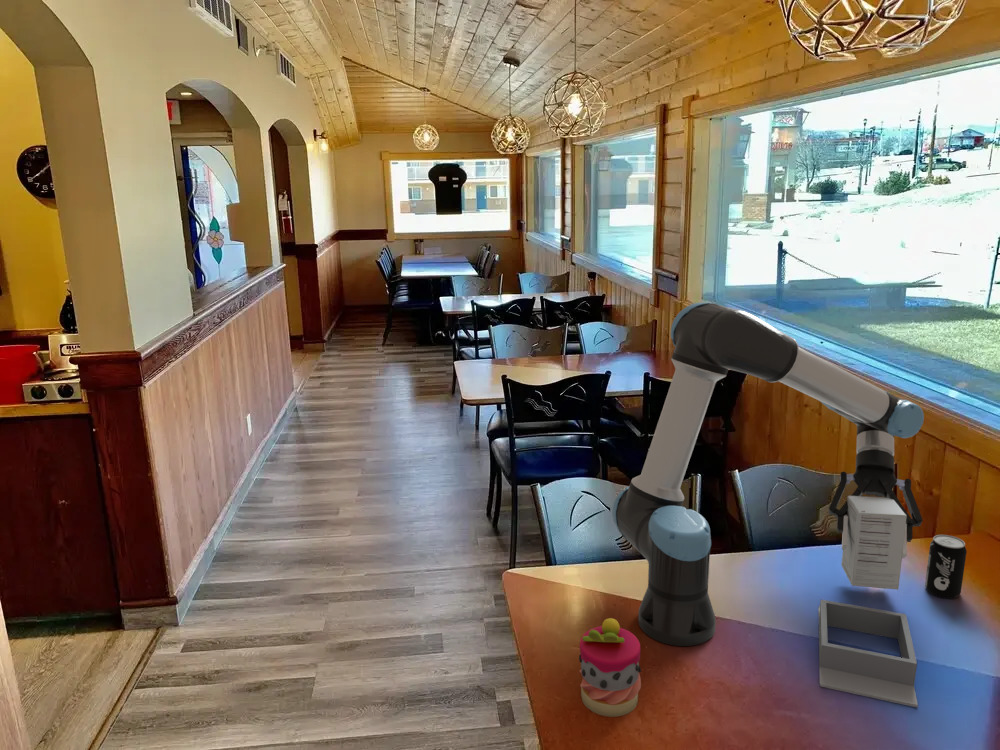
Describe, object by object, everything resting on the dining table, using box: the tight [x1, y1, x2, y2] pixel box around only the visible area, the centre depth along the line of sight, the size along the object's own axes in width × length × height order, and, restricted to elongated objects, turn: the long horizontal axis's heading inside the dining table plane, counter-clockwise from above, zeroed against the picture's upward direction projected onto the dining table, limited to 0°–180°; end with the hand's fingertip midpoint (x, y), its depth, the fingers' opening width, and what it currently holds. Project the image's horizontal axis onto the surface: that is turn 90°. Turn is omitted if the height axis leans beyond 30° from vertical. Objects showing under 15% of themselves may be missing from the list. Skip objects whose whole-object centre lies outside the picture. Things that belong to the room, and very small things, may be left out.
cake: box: [578, 617, 642, 718], centre depth 122 cm, size 10×11×15 cm
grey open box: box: [817, 599, 919, 709], centre depth 133 cm, size 15×26×5 cm, turn 157°
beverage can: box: [924, 534, 968, 599], centre depth 151 cm, size 7×7×12 cm
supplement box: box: [840, 495, 907, 591], centre depth 150 cm, size 10×9×17 cm
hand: (873, 551), depth 148 cm, fingers closed on supplement box, 10 cm apart
